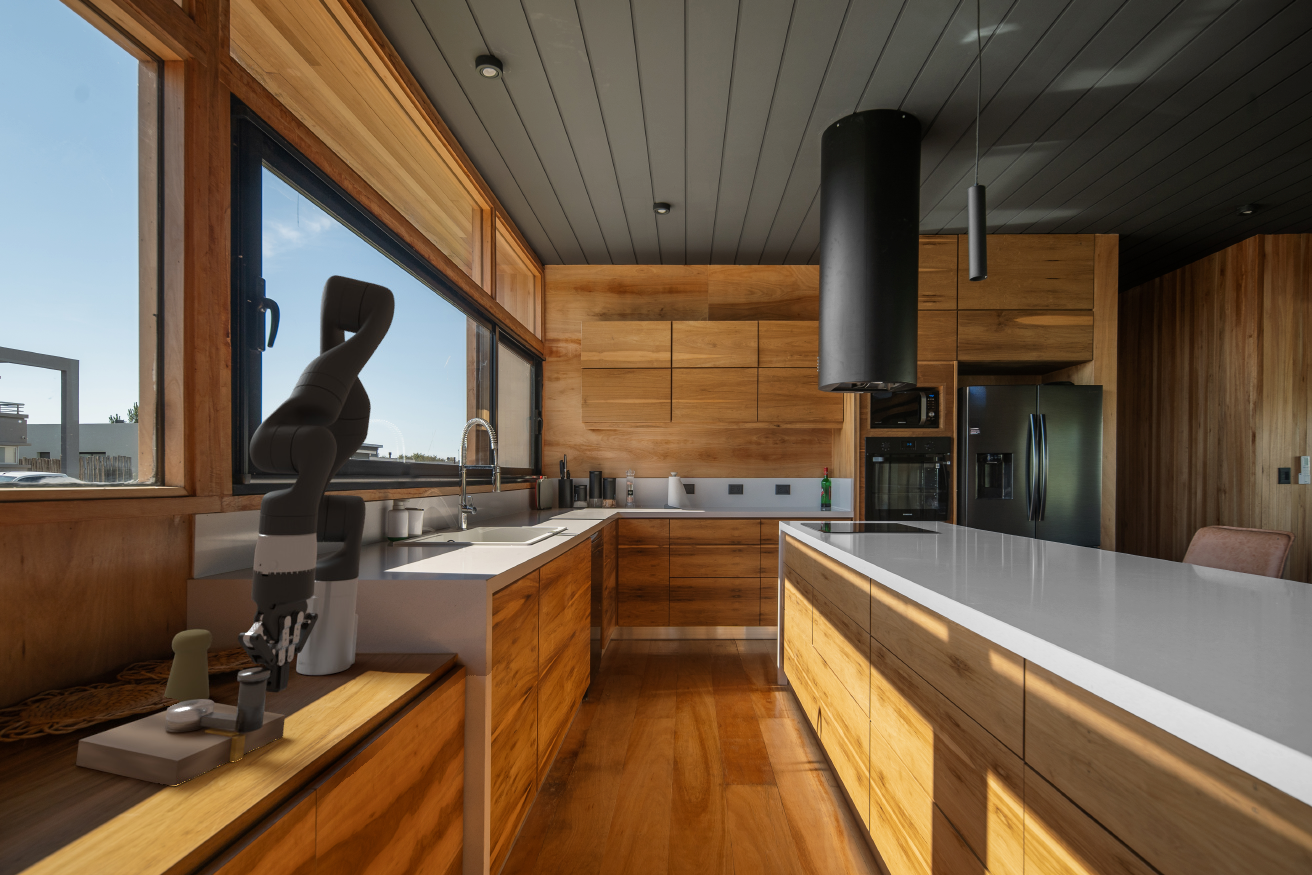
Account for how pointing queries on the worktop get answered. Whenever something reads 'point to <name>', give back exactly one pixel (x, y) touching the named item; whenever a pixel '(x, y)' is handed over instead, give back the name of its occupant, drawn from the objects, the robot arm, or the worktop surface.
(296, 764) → the worktop surface
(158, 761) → the stand
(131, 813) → the worktop surface
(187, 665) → the olive tapered upright piece
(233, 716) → the metal lever handle
